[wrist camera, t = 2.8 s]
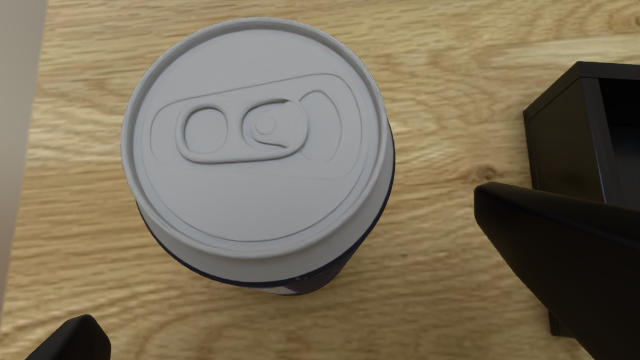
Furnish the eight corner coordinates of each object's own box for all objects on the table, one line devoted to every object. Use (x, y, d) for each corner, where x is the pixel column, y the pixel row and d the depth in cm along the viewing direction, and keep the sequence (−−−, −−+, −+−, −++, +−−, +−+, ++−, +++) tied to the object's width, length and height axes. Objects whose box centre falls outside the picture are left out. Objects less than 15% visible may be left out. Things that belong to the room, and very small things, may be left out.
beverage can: (356, 291, 17) (435, 270, 6) (235, 300, 17) (75, 296, 6) (344, 177, 19) (388, -7, 8) (235, 185, 19) (113, 6, 7)
